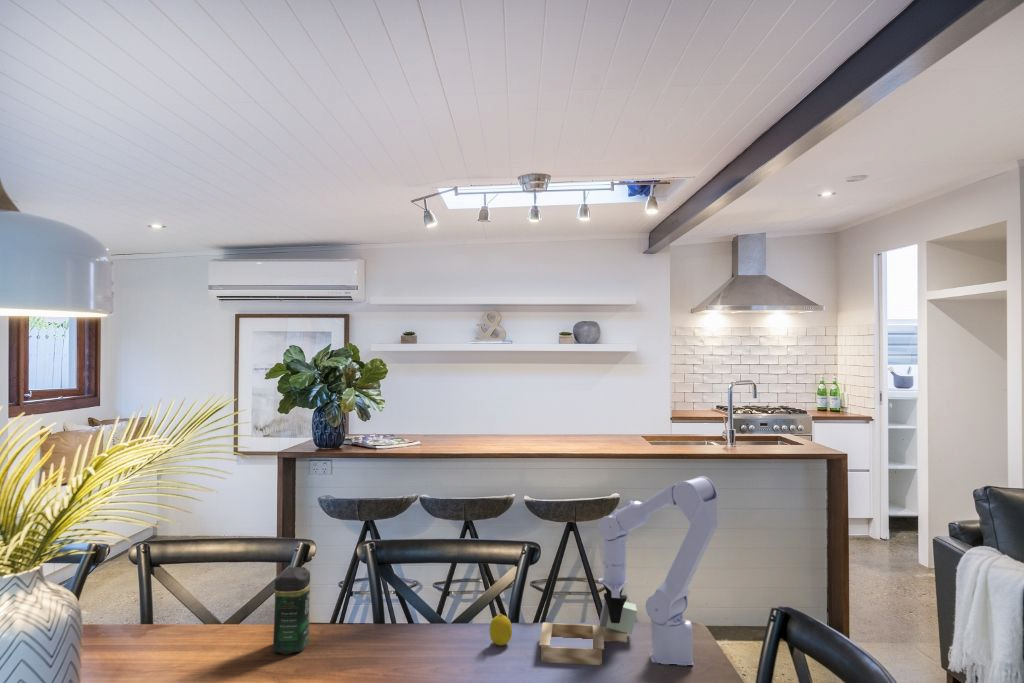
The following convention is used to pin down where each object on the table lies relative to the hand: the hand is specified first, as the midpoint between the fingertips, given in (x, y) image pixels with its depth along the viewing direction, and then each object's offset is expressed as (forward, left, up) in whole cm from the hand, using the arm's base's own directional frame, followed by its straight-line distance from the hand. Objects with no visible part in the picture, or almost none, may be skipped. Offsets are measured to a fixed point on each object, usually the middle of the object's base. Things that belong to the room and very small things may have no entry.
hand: (614, 616), depth 166 cm
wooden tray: (+11, +9, -6) cm, 15 cm away
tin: (0, 0, -2) cm, 2 cm away
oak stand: (0, 0, -6) cm, 6 cm away
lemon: (+28, +8, -6) cm, 30 cm away
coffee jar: (+79, +14, -6) cm, 80 cm away
